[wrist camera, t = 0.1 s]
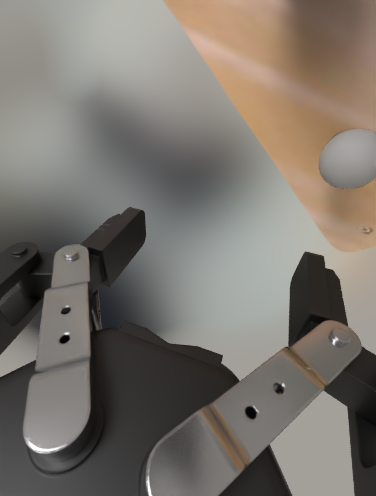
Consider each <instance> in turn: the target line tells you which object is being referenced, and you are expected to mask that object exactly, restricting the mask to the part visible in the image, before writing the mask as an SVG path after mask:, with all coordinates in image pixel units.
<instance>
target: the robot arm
mask: <svg viewBox="0 0 376 496" xmlns="http://www.w3.org/2000/svg"><path fill="white" fill-rule="evenodd" d="M145 238H146V227H145V213H144V211H143V210H139V209H135V208H131V207H129V208H127V209H126V210H125V211H124V212H123V213H122V214H121V215H120V214H117V215H115V216H113V217H111V218H109V219H108V220H107V221H106V222H105V223H103V225H101V226H100V227H99V228H98V229H97V230H96V231H95V232H94V233H92V234H91V235H90V236H89V237H88V238H87V239H86V240H85V241H84V242H82V243H81V244H80V245H69V246H66V247H63V248H61V249H60V250H58V251H57V252H56V253H44V252H39V249H38V247H37V245H35V244H34V243H31V242H21V243H17V244H14V245H12V246H10V247H8V248H6V249H5V250H4V251H2V252H1V253H0V300H1V298H2V297H3V296H4V295H5V294H6V293H7V292H8V291H9V290H10V289H11V288H12V287H14V286H15V285H16V284H17V286H18V288H19V289H18V290H17V291H16V292H15V293H14V294H13V295H11V297H9V298H8V299H7V300H6V301H5V302H4V303H3V304H2V305H1V306H0V354H2V352H3V351H4V350H5V349H6V348H7V347H8V346H9V345H10V344H11V342H12V341H13V340H14V339H15V338H16V337H17V336H18V334H19V333H20V332H21V331H22V330H23V329H24V328H25V327H26V326H27V324H28V323H29V322H30V321H31V320H32V319H33V318H34V317H35V316H36V314H37V313H38V312H39V311H40V310H41V309H42V308H43V310H42V319H41V326H40V334H39V342H38V350H37V358H36V360H35V361H33V362H31V363H29V364H26V365H25V366H22V367H20V368H18V369H16V370H14V371H12V372H10V373H8V374H6V375H4V376H2V377H0V496H292V494H291V492H290V489H289V487H288V485H287V482H286V480H285V478H284V476H283V474H282V471H281V469H280V467H279V464H278V462H277V460H276V458H275V455H274V453H273V451H272V449H271V446H270V443H271V442H272V441H273V440H274V439H275V438H276V437H277V436H278V435H279V434H280V433H281V432H282V431H283V430H284V429H285V428H286V427H287V426H288V425H289V424H290V423H291V422H292V421H293V420H294V419H295V418H296V417H297V416H298V415H299V414H300V413H301V412H302V411H303V410H304V409H305V408H306V407H307V406H308V405H309V404H310V403H311V402H312V401H313V400H314V399H315V398H316V397H317V396H318V395H319V394H320V393H321V392H322V391H323V390H324V391H325V392H327V393H328V394H330V395H331V396H333V397H334V398H335V399H337V400H338V401H340V402H341V403H343V404H344V405H346V406H347V407H348V419H349V432H350V444H351V457H352V468H353V481H354V493H355V496H376V355H375V354H373V353H371V352H370V351H368V350H366V349H365V348H364V347H362V346H361V342H360V339H359V338H358V336H357V335H356V333H355V332H354V331H353V330H351V329H350V328H349V327H348V323H347V318H346V312H345V307H344V302H343V298H342V291H341V286H340V280H339V278H338V277H337V275H336V274H335V272H334V271H333V270H331V269H327V268H325V262H324V256H322V255H317V254H314V253H310V252H305V253H304V254H303V256H302V258H301V260H300V262H299V264H298V266H297V268H296V270H295V273H294V275H293V277H292V280H291V285H290V307H289V308H290V309H289V343H288V344H289V346H288V347H289V348H288V347H284V348H283V349H281V350H280V351H279V352H277V353H276V354H275V355H274V356H272V357H271V358H270V359H268V360H267V361H266V362H264V363H263V364H262V365H261V366H259V367H258V368H257V369H255V370H254V371H253V372H252V373H250V374H249V375H248V376H246V377H245V378H244V379H242V380H241V381H239V379H238V378H237V377H236V376H235V375H234V374H233V372H232V371H231V370H229V369H228V368H227V367H226V366H224V365H223V364H221V361H222V357H223V355H220V354H217V353H215V352H212V351H209V350H206V349H203V348H201V347H198V346H189V345H179V344H170V343H167V342H166V341H164V340H163V339H162V338H160V337H159V336H157V335H156V334H154V333H153V332H151V331H150V330H148V329H147V328H144V327H141V326H138V325H136V324H133V323H130V322H127V321H124V322H123V324H122V325H121V327H120V328H119V327H113V328H112V327H111V328H105V329H102V328H101V319H100V306H99V295H98V288H99V287H100V286H101V285H103V286H106V287H109V288H110V287H111V285H112V284H113V283H114V281H115V280H116V279H117V278H118V276H119V275H120V274H121V273H122V271H123V270H124V269H125V267H126V266H127V265H128V264H129V262H130V261H131V260H132V258H133V257H134V256H135V255H136V253H137V252H138V251H139V250H140V248H141V247H142V246H143V244H144V242H145Z"/></svg>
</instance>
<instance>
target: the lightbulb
mask: <svg viewBox="0 0 376 496" xmlns="http://www.w3.org/2000/svg"><path fill="white" fill-rule="evenodd" d="M319 170H320V174H321V176H322V178H323V179H324V180H325V181H326V182H327V183H328V184H330V185H331V186H334V187H336V188H340V189H354V188H358V187H361V186H364V185H366V184H367V183H369V182H371V181H372V180H373V179H375V178H376V133H375V132H373V131H370V130H366V129H352V130H347V131H343V132H340V133H338V134H336V135H335V136H334V137H333V138H332V139H331V140H330V141H329V142H328V143H327V144H326V146H325V147H324V149H323V150H322V153H321V155H320V158H319Z"/></svg>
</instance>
